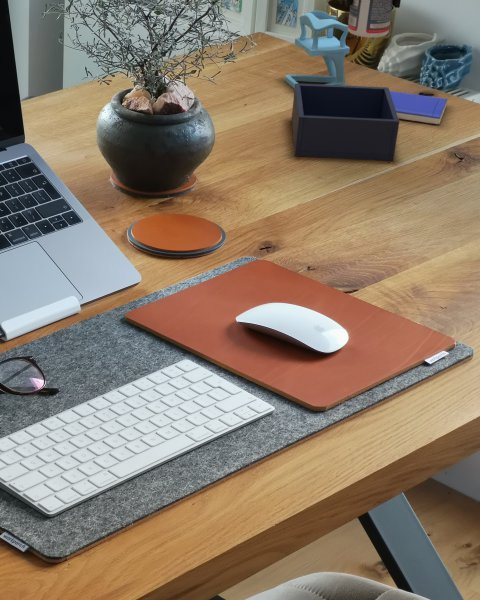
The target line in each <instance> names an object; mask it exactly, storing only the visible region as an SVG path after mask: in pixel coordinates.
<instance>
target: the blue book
mask: <svg viewBox="0 0 480 600" xmlns="http://www.w3.org/2000/svg"><path fill="white" fill-rule="evenodd" d="M389 91H390V94H391V97H392V100H393V103H394V106H395V110H396V113H397V116H398V119H399V120H405V121H412V122H419V123H427V124H434V125H440V123H441V121H442V118H443V116H444V113H445V111H446V109H447V104H448V98H445V97H444V98H443V97H436V96H430V95H429V96H428V95H420V94H415V93H407V92H401V91H394V90H389Z"/></svg>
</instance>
